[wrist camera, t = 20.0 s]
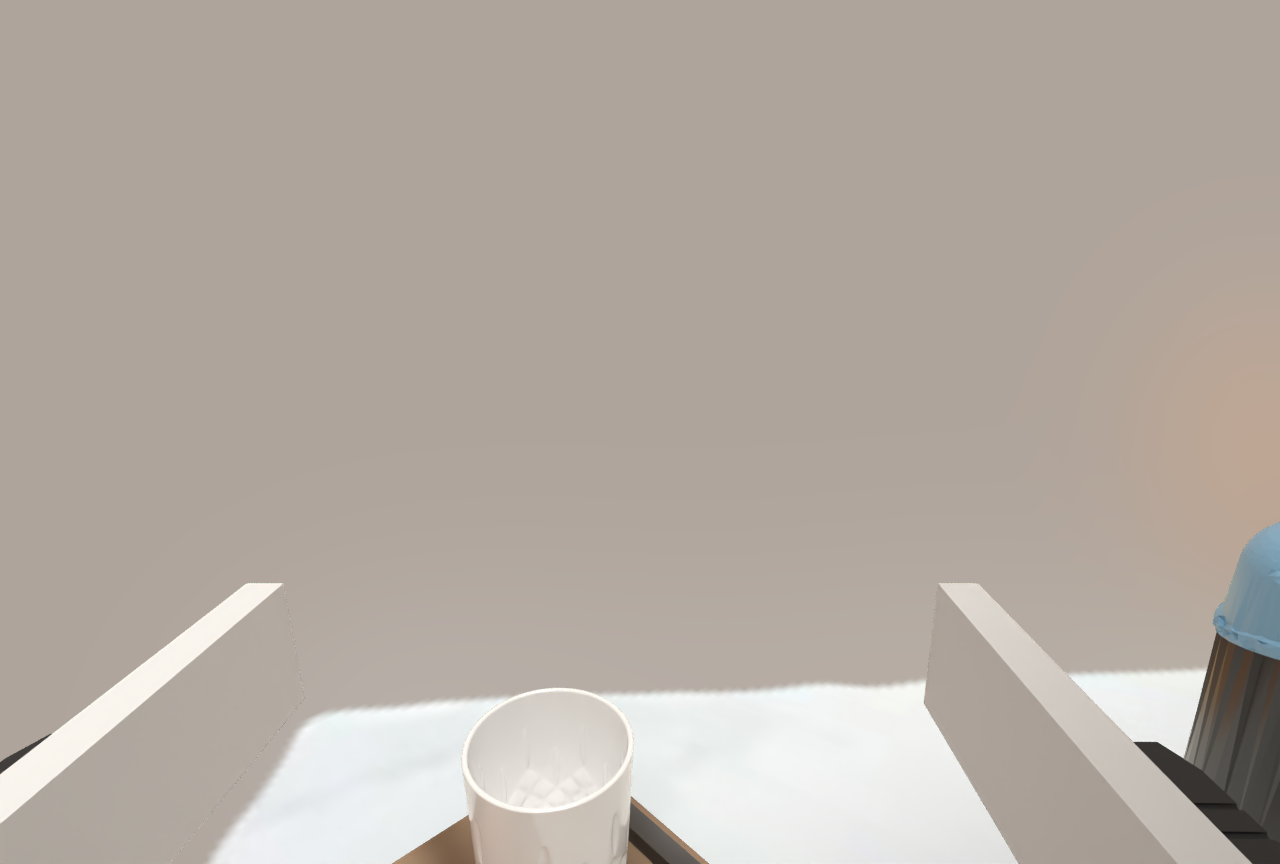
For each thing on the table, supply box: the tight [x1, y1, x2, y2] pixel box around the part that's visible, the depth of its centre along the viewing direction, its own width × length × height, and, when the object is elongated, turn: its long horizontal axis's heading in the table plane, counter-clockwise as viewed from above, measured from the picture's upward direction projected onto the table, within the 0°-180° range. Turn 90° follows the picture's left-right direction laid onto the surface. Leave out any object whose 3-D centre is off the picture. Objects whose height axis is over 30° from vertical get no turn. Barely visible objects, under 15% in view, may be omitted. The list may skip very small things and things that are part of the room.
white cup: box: [461, 688, 634, 864], centre depth 30 cm, size 8×8×10 cm
